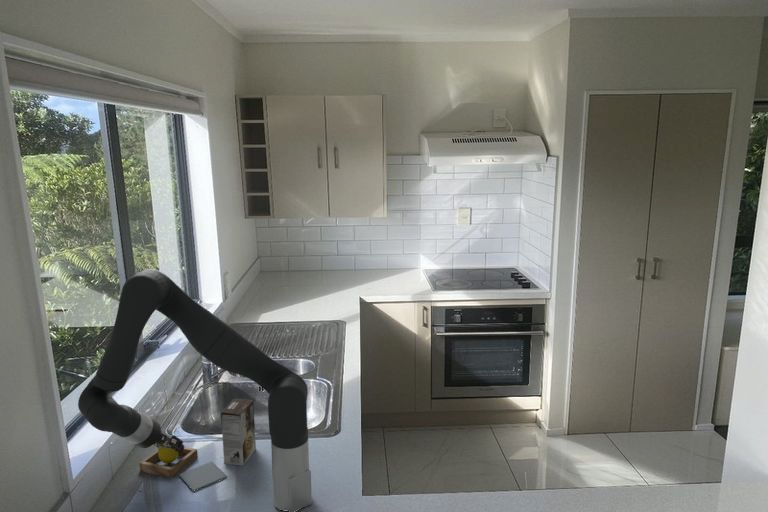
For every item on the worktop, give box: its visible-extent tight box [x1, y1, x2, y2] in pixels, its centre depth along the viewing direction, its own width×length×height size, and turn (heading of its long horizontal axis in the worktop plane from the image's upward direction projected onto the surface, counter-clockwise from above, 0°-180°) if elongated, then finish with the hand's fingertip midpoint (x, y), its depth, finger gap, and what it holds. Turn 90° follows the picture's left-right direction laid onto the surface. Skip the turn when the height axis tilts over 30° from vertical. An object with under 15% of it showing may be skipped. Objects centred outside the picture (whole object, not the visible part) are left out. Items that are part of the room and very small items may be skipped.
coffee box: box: [220, 398, 257, 466], centre depth 157 cm, size 9×6×16 cm
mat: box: [178, 461, 228, 492], centre depth 148 cm, size 10×10×1 cm
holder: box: [138, 446, 199, 479], centre depth 154 cm, size 11×11×2 cm
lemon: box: [157, 442, 179, 465], centre depth 154 cm, size 6×6×8 cm
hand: (172, 447), depth 155 cm, fingers open, 6 cm apart
